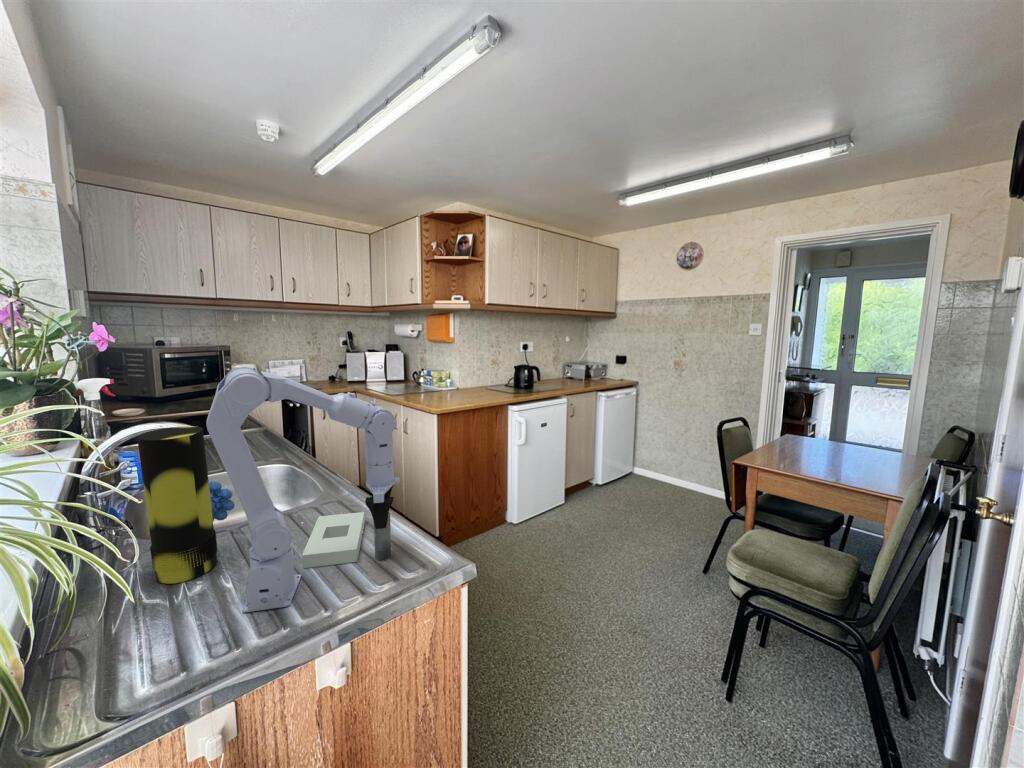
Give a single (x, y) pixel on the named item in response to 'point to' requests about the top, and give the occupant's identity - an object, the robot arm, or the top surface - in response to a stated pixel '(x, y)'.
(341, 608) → the top surface
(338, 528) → the hole block
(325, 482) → the top surface
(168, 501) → the container
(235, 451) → the robot arm
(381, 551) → the peg
